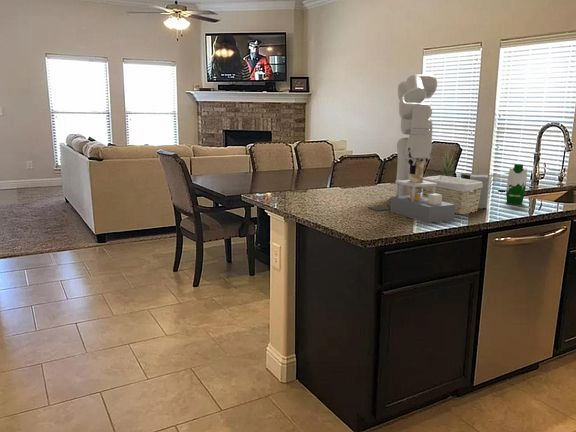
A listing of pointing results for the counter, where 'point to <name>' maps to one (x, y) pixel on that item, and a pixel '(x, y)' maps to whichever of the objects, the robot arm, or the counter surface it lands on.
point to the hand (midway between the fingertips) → (416, 173)
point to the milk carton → (516, 184)
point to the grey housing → (421, 205)
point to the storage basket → (456, 192)
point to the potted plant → (448, 166)
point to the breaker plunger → (417, 196)
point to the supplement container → (467, 175)
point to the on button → (434, 199)
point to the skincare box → (483, 190)
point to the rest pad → (379, 208)
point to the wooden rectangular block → (417, 176)
